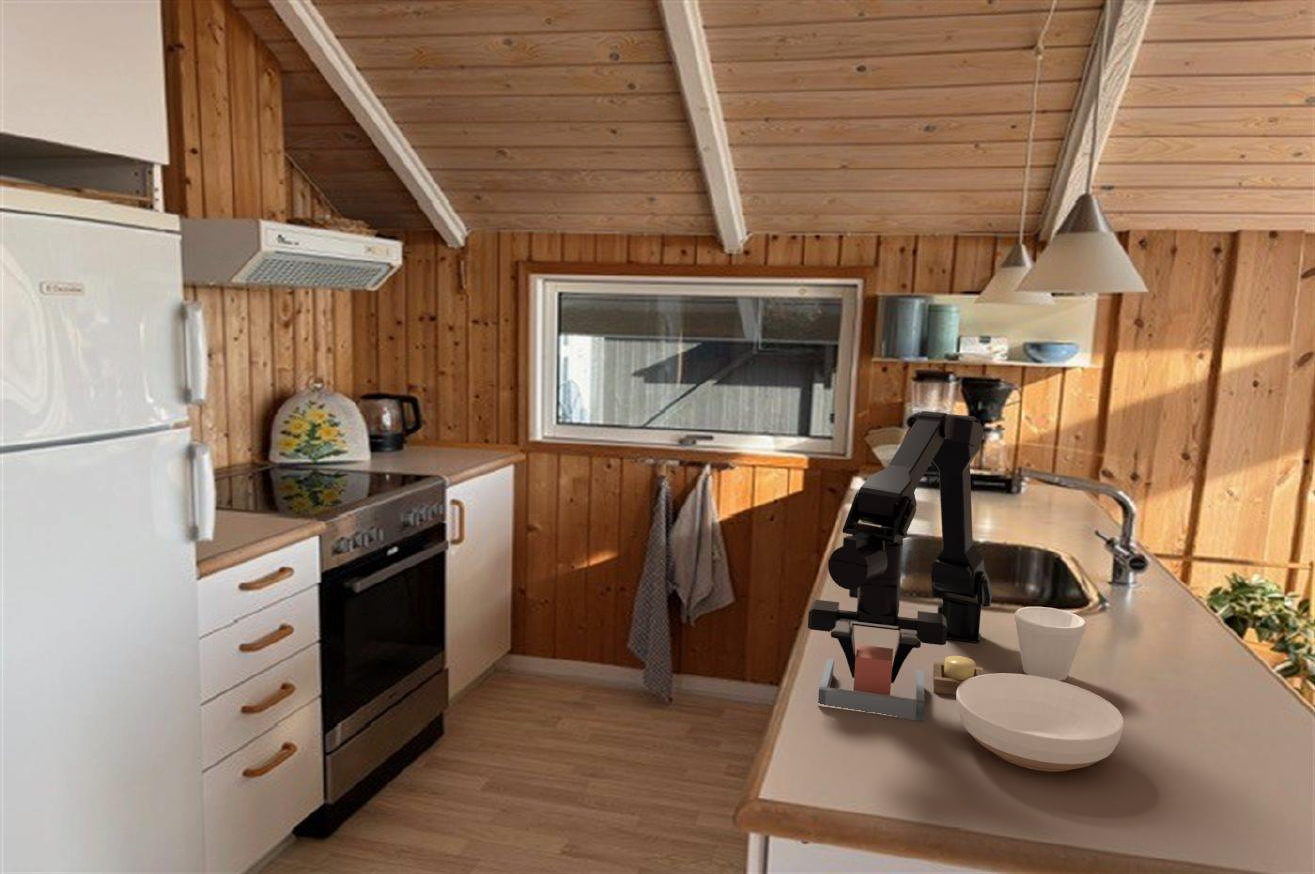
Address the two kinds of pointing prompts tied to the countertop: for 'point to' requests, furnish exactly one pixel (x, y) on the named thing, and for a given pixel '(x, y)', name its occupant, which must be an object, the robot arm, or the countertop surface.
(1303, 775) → the countertop surface
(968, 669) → the pale yellow rounded block
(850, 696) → the pocket
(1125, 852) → the countertop surface
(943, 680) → the housing
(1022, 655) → the cup
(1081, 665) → the countertop surface
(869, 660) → the cube
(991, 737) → the bowl
